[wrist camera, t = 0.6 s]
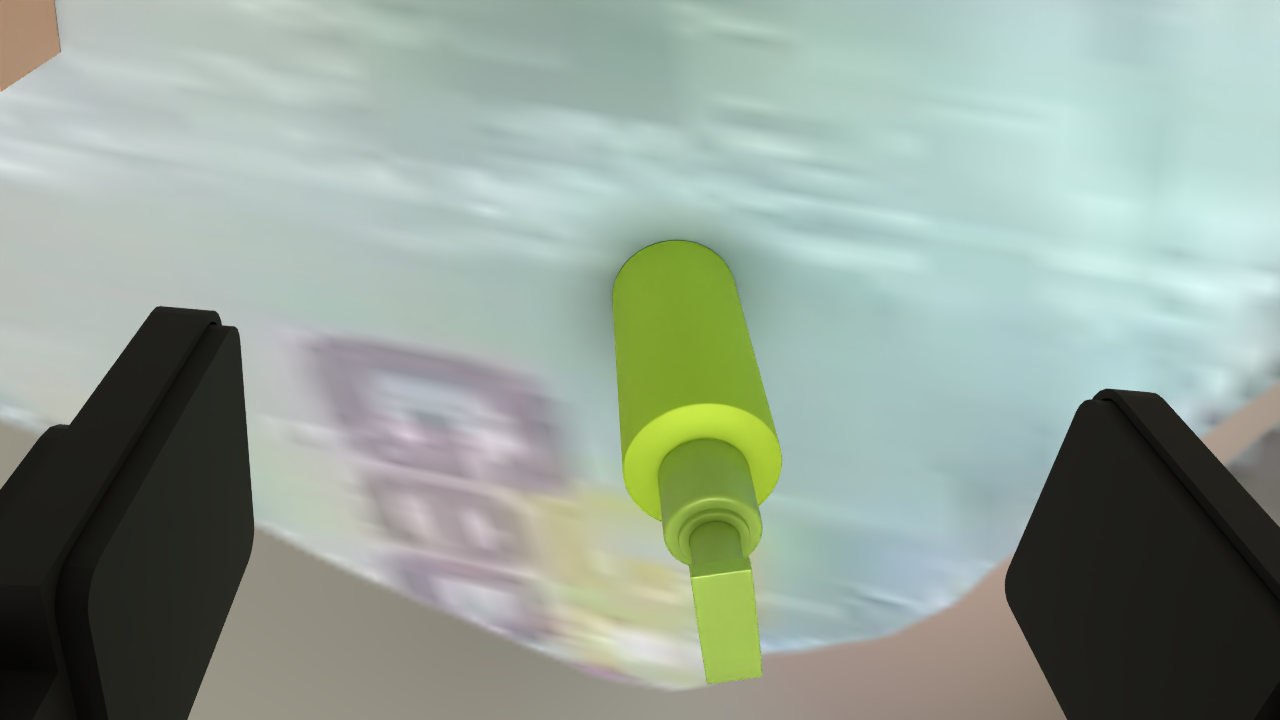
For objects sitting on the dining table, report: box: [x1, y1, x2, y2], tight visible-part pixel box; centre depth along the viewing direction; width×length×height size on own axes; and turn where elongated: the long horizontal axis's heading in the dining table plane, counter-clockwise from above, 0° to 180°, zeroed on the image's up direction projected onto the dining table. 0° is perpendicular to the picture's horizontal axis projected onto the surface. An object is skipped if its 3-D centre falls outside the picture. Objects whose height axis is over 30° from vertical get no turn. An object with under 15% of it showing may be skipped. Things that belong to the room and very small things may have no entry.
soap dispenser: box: [612, 241, 782, 684], centre depth 40 cm, size 6×7×20 cm
